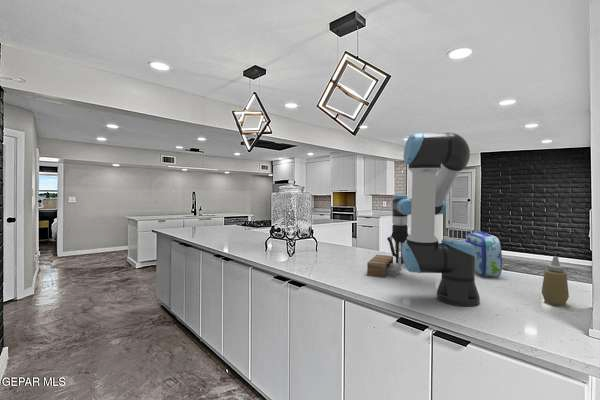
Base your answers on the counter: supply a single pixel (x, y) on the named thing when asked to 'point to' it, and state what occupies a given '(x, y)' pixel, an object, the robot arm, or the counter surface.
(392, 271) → the panel
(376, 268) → the walnut tunnel
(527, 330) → the counter surface
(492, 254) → the lunch box
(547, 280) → the squeeze bottle
